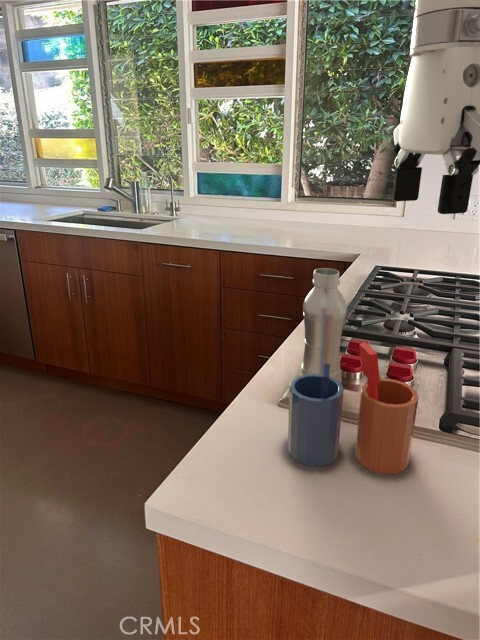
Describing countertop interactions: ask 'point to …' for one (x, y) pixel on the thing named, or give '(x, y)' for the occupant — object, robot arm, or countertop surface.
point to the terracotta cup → (386, 426)
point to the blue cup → (314, 420)
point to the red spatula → (370, 368)
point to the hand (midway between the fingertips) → (426, 206)
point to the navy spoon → (325, 381)
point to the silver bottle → (323, 324)
